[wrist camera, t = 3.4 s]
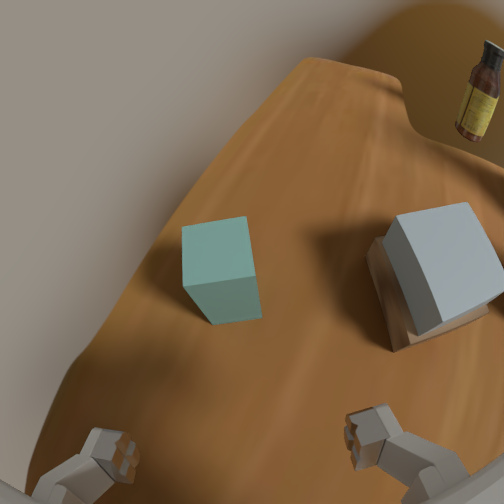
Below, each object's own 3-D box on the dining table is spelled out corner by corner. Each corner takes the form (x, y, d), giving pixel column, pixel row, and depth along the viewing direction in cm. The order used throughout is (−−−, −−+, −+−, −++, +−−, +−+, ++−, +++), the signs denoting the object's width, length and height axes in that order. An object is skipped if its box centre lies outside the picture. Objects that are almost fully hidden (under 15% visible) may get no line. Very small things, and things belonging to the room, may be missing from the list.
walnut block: (467, 324, 22) (489, 312, 19) (392, 353, 22) (410, 344, 19) (437, 243, 27) (453, 224, 24) (364, 258, 27) (375, 237, 24)
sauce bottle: (485, 145, 36) (520, 61, 18) (465, 143, 36) (501, 50, 18) (467, 123, 39) (495, 43, 22) (446, 120, 39) (474, 33, 22)
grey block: (486, 303, 19) (510, 286, 16) (418, 336, 19) (443, 321, 15) (450, 225, 24) (467, 201, 20) (381, 242, 23) (395, 215, 20)
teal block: (262, 317, 25) (255, 275, 17) (212, 324, 25) (182, 286, 17) (255, 273, 27) (246, 216, 19) (208, 280, 27) (181, 227, 19)
